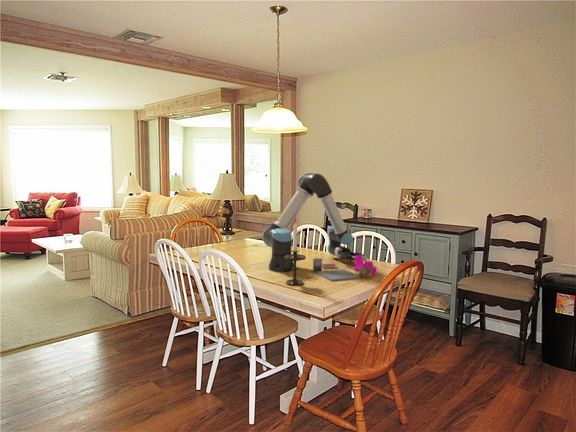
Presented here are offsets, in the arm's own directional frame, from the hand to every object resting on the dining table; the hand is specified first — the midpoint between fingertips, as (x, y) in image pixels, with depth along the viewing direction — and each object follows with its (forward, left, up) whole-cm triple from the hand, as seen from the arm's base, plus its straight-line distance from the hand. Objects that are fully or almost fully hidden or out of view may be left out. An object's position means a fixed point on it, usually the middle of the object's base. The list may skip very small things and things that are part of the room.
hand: (362, 260), depth 247 cm
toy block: (-1, -5, -6) cm, 8 cm away
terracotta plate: (-16, +13, -6) cm, 22 cm away
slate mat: (-20, -7, -6) cm, 22 cm away
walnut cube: (-7, -15, -6) cm, 18 cm away
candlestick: (-49, -13, -6) cm, 51 cm away
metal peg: (-26, +7, -6) cm, 28 cm away
